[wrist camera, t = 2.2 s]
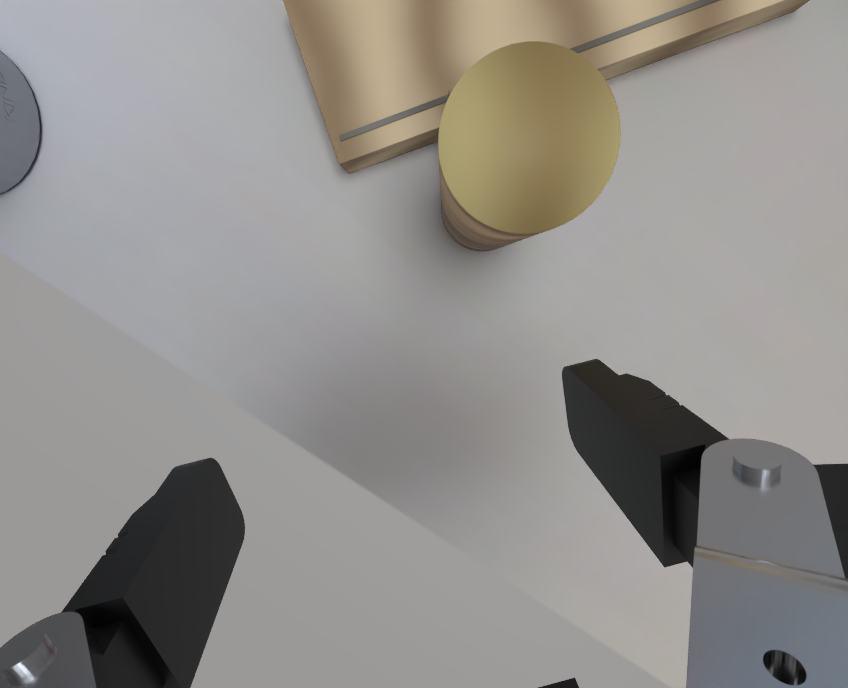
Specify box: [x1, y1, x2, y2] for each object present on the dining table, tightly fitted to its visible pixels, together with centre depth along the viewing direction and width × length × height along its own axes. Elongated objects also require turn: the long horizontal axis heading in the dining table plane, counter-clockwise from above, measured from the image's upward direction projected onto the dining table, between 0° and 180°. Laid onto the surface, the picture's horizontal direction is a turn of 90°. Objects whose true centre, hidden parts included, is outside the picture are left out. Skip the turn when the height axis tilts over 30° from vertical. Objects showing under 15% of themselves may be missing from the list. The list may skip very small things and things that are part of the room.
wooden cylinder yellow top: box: [438, 41, 621, 251], centre depth 19 cm, size 5×8×15 cm, turn 18°
